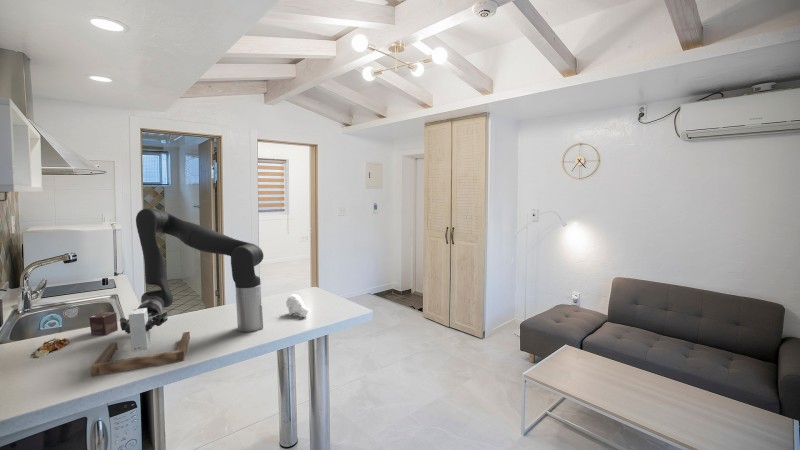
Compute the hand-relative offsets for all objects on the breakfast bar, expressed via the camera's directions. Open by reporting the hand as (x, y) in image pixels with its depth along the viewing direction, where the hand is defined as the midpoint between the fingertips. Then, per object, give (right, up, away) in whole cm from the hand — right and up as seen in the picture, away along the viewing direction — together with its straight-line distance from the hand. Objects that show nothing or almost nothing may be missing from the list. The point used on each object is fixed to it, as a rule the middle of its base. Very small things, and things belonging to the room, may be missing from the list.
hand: (137, 329), depth 118 cm
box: (-33, -9, +28) cm, 44 cm away
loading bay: (-3, -11, +8) cm, 13 cm away
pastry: (-40, -11, +13) cm, 43 cm away
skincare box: (-1, -7, +3) cm, 8 cm away
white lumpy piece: (+38, -7, +45) cm, 60 cm away
